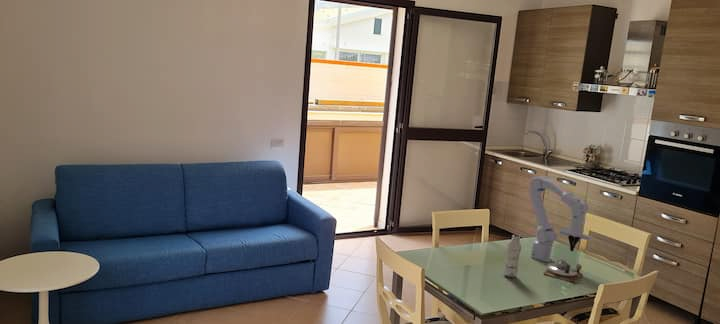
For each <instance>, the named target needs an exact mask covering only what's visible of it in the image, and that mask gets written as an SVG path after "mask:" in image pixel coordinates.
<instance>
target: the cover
mask: <svg viewBox="0 0 720 324" xmlns="http://www.w3.org/2000/svg"><path fill="white" fill-rule="evenodd" d="M556 263H557V268H558V269H560V270H565V268H566V264H569V263H568V262H567V260H565V259H560V260H558V261H557V262H556Z"/></svg>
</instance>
